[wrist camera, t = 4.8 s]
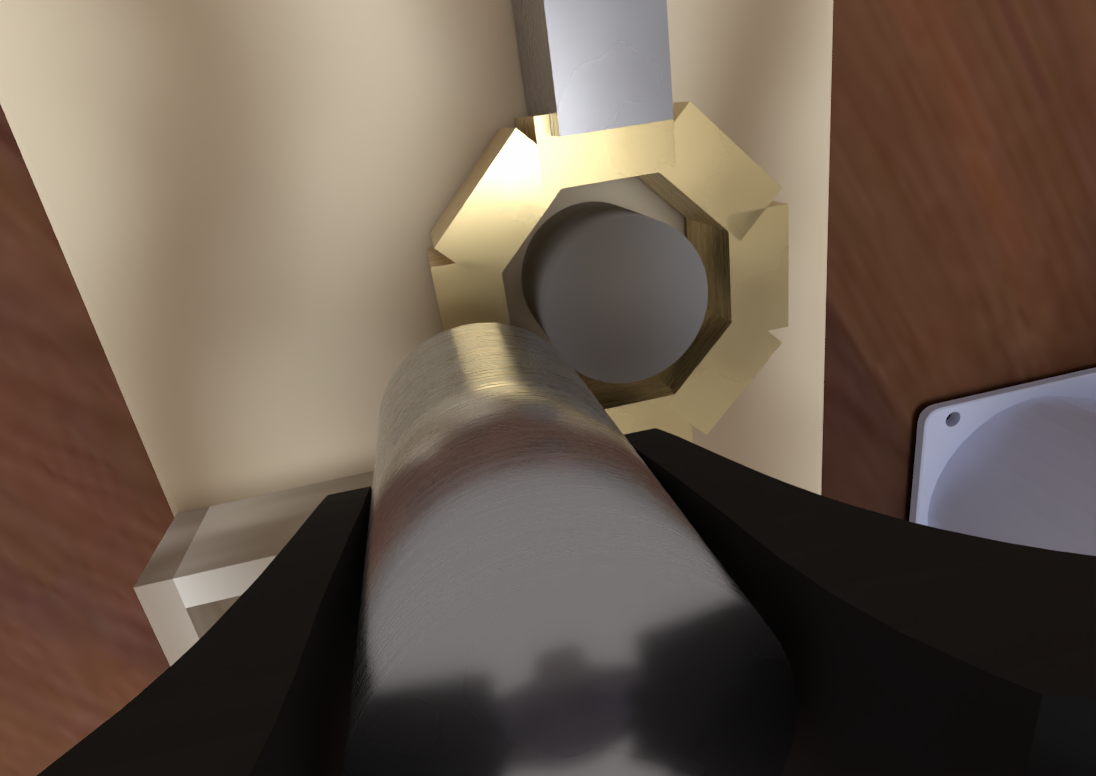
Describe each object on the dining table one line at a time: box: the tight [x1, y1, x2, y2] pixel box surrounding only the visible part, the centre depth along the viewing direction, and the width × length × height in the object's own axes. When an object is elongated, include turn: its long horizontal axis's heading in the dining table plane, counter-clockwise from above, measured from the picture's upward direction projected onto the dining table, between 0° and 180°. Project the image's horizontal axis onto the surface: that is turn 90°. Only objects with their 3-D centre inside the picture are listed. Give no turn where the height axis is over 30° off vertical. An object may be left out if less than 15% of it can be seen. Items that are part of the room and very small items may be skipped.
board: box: [0, 0, 833, 666], centre depth 16 cm, size 18×19×4 cm
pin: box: [343, 323, 797, 776], centre depth 8 cm, size 4×4×7 cm
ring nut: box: [427, 0, 789, 443], centre depth 15 cm, size 8×10×3 cm
